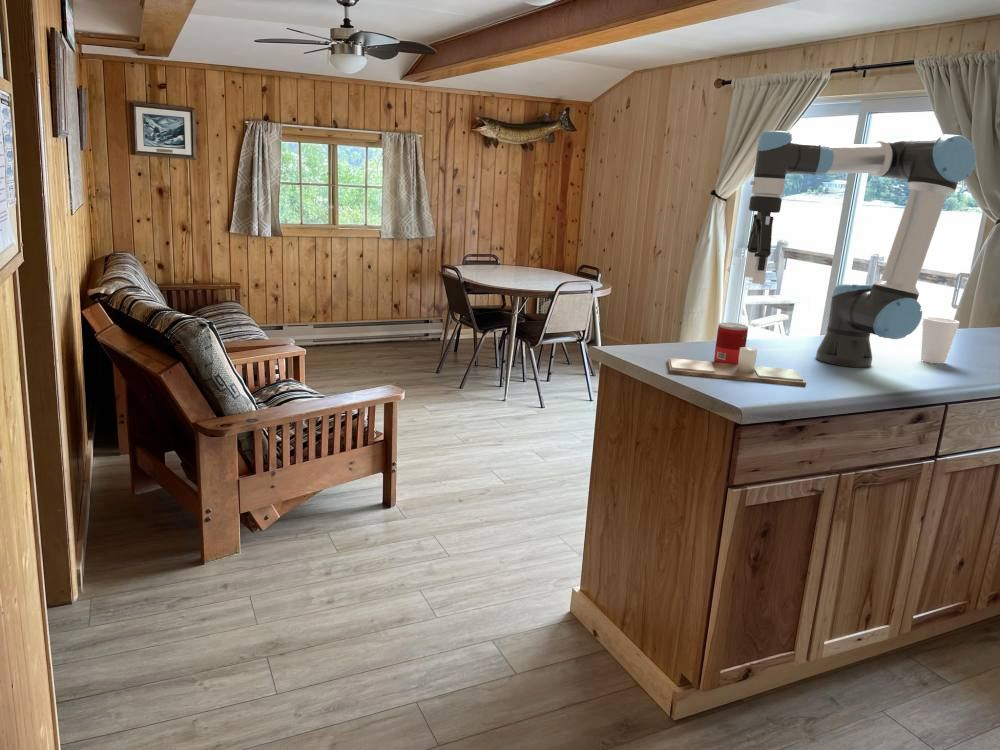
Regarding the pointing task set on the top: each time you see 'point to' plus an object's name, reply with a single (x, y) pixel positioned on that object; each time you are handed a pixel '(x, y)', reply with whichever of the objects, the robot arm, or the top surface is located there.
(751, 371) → the ceramic post
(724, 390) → the top surface
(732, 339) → the canned food
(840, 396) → the top surface
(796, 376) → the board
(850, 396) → the top surface
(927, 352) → the foam cup
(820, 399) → the top surface
